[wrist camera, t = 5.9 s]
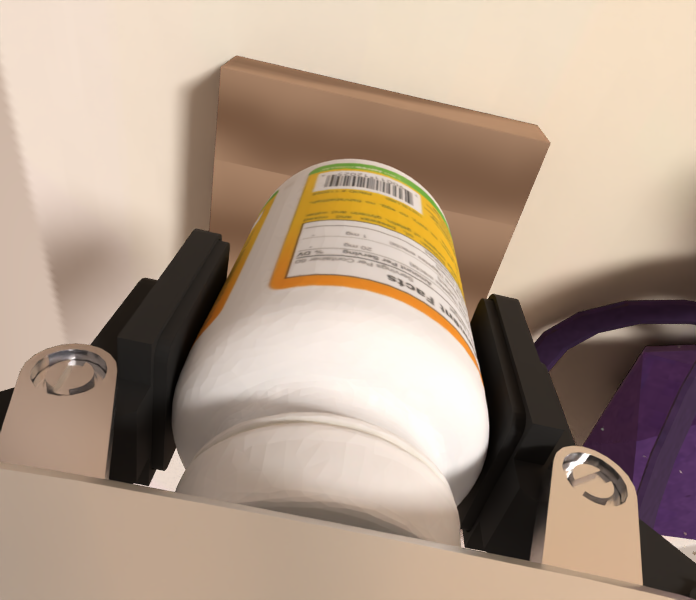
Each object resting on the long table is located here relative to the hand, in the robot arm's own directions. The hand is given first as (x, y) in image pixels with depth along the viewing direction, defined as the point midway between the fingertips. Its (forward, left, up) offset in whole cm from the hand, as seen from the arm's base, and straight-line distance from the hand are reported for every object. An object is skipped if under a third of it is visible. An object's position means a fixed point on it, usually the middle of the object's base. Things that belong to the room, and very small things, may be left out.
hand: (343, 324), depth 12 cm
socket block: (+7, +1, -20) cm, 21 cm away
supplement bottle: (0, 0, -4) cm, 4 cm away
